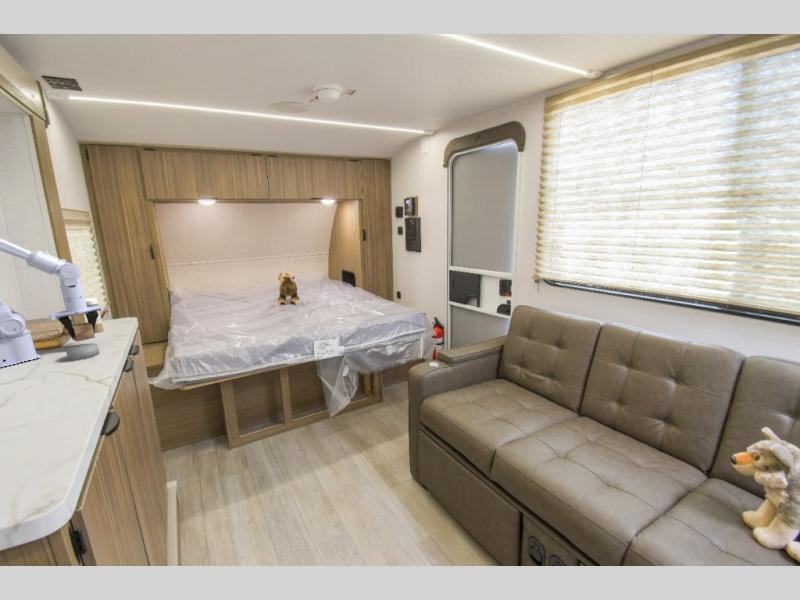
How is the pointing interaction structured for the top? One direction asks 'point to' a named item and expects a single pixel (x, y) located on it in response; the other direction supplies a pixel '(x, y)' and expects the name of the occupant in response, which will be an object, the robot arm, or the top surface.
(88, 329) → the walnut block
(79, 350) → the grey rounded dome
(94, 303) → the sprinkles bottle
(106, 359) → the top surface
